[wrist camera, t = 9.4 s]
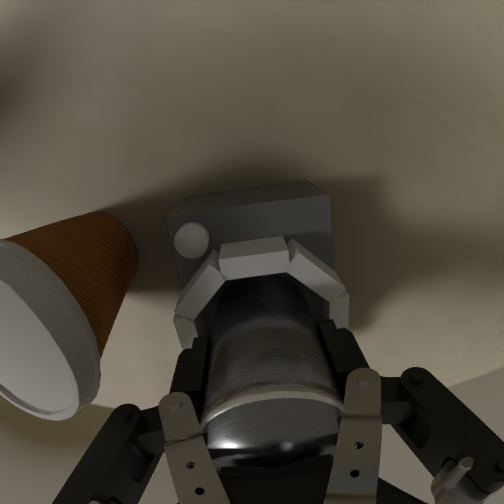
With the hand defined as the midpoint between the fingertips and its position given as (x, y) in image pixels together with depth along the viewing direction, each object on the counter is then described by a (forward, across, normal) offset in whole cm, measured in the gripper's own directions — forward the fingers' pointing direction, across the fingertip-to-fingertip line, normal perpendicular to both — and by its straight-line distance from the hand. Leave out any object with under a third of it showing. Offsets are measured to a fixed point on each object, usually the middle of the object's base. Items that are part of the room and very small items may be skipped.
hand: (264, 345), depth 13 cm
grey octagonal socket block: (+8, 0, 0) cm, 8 cm away
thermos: (+2, 0, 0) cm, 2 cm away
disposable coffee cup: (+8, +11, -3) cm, 14 cm away
